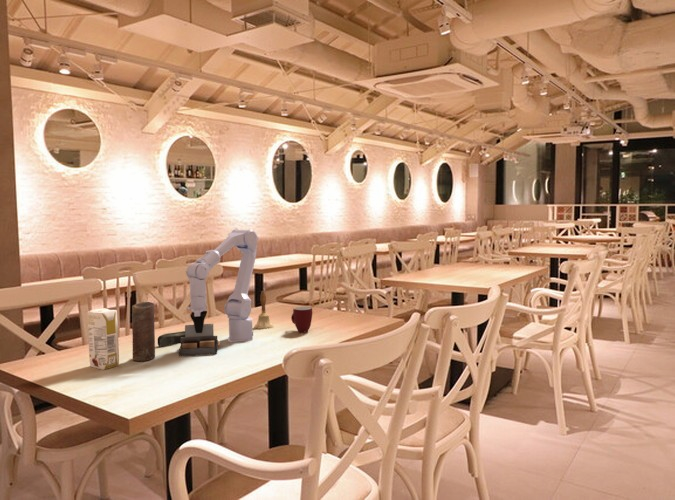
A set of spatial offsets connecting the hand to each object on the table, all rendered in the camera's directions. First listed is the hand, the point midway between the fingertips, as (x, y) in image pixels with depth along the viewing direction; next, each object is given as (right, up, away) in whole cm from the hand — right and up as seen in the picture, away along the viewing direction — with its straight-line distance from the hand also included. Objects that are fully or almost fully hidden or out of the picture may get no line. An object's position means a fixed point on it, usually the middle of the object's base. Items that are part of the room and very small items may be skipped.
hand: (199, 331), depth 197 cm
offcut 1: (-2, -7, -6) cm, 9 cm away
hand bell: (+18, -4, +39) cm, 43 cm away
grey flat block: (0, -5, 0) cm, 5 cm away
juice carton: (-27, -9, -18) cm, 34 cm away
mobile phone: (-12, -7, +8) cm, 16 cm away
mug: (+35, -5, +30) cm, 46 cm away
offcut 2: (+4, -7, -4) cm, 9 cm away
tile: (-1, -6, +8) cm, 10 cm away
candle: (-16, -8, -12) cm, 22 cm away
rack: (+1, -7, -2) cm, 8 cm away
